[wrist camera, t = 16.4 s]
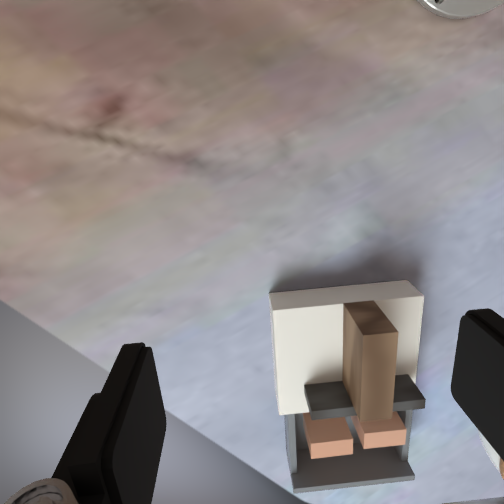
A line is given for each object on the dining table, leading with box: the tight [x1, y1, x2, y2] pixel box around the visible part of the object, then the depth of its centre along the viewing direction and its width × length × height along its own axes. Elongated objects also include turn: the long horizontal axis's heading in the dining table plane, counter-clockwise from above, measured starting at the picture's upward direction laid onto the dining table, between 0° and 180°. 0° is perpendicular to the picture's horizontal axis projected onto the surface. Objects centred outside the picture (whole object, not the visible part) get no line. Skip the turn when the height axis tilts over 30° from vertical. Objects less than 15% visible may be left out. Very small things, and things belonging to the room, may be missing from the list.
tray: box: [285, 410, 415, 493], centre depth 46 cm, size 15×10×6 cm
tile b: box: [303, 412, 353, 459], centre depth 45 cm, size 5×5×2 cm
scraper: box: [304, 300, 426, 422], centre depth 37 cm, size 12×11×6 cm
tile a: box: [351, 411, 407, 449], centre depth 45 cm, size 5×5×2 cm
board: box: [269, 280, 424, 415], centre depth 43 cm, size 16×14×4 cm
